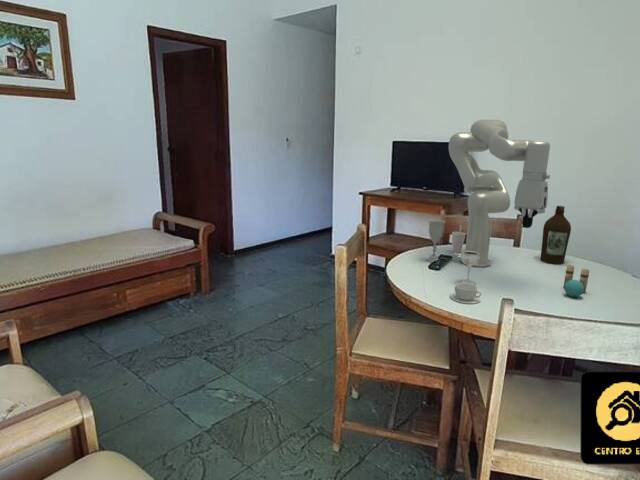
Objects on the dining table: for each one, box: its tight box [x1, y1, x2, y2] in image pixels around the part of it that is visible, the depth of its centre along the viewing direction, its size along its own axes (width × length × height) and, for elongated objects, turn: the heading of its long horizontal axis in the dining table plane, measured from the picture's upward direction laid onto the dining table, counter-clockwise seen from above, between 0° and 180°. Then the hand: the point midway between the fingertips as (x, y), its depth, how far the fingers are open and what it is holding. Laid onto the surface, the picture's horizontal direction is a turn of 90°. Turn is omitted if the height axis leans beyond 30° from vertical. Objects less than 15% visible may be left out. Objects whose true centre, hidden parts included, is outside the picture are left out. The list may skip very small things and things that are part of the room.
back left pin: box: [563, 265, 575, 289], centre depth 157 cm, size 2×2×8 cm
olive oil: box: [540, 205, 572, 265], centre depth 188 cm, size 11×11×25 cm
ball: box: [563, 279, 584, 298], centre depth 149 cm, size 6×6×6 cm
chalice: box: [427, 219, 446, 263], centre depth 186 cm, size 7×7×18 cm
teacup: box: [449, 282, 482, 305], centre depth 146 cm, size 10×10×5 cm
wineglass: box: [460, 249, 480, 285], centre depth 161 cm, size 7×7×12 cm
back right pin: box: [579, 268, 590, 294], centre depth 153 cm, size 2×2×8 cm
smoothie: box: [451, 223, 467, 254], centre depth 200 cm, size 6×6×14 cm
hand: (526, 227), depth 156 cm, fingers closed
